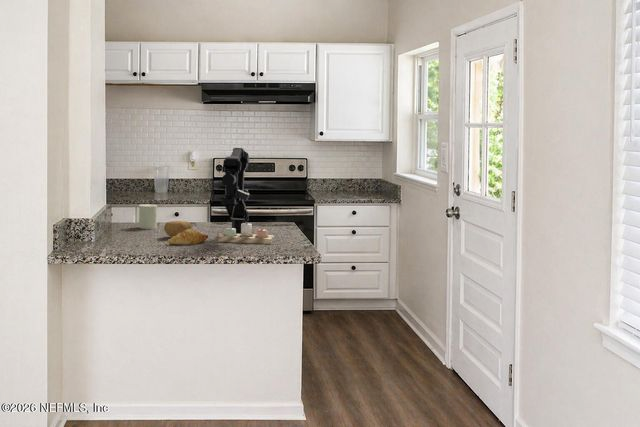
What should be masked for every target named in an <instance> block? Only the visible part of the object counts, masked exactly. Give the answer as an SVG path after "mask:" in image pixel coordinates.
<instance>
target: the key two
mask: <svg viewBox="0 0 640 427" xmlns="http://www.w3.org/2000/svg"><path fill="white" fill-rule="evenodd" d="M252 225H253V223H247V222H246V223H243V224H241V236H252V230H253V228H252V227H253V226H252Z"/></svg>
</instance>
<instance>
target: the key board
mask: <svg viewBox="0 0 640 427" xmlns="http://www.w3.org/2000/svg"><path fill="white" fill-rule="evenodd" d="M274 237H275V236H274V235H271V234H267V238H257V234H252V236H241V234H238V233H236V237H234V236H225V232H221V233H220V234H219V236H217V242H218V243H221V242H222V243H241V244H259V245H260V244H266V245H267V244H268V245H272V243H273V242H274Z"/></svg>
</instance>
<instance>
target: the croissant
mask: <svg viewBox="0 0 640 427" xmlns="http://www.w3.org/2000/svg"><path fill="white" fill-rule="evenodd" d="M208 238H209V235H207V234H204V233H201V232H199V231H197V230H196V229H194V228H191V229H187V230H185V231H183V232H182V233H179V234H178V235H176V236H173V237H171V238H168V239H167V243H168V244H170V245H179V246H181V245H183V246H187V245H197V244H200V243H203V242H205V241H206V240H208Z"/></svg>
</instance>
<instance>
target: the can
mask: <svg viewBox="0 0 640 427" xmlns="http://www.w3.org/2000/svg"><path fill="white" fill-rule="evenodd" d="M157 219H158V205H157V204H152V203H150V204H139V205H138V228H139V229H142V230H144V229H145V230H154V229H157V228H158V227H157V226H158V225H157V224H158V223H157Z"/></svg>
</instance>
